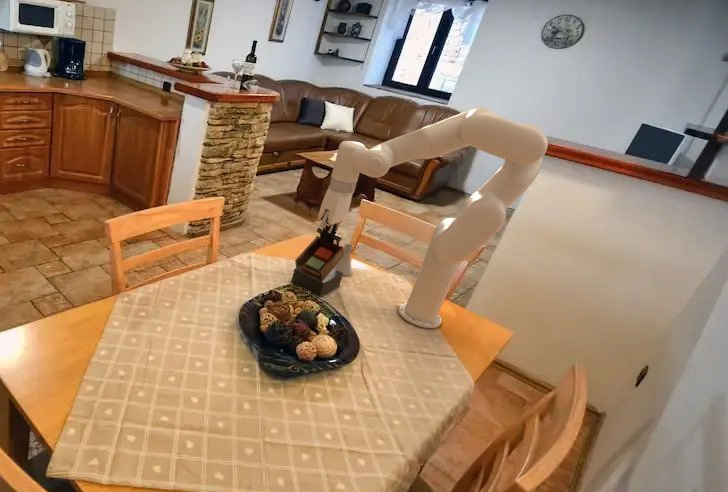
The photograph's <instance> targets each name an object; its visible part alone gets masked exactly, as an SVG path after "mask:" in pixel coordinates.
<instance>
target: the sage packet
mask: <svg viewBox="0 0 728 492" xmlns="http://www.w3.org/2000/svg"><path fill="white" fill-rule="evenodd" d="M324 266H325V262H323V261H321V260H319V259H317V258H314V257H311V258H310V259H309V260H308V261H307V263H306V267H308V268H310V269H312V270H314V271H316V272H318V273H319V272H320V270H321V269H322V268H323V267H324Z"/></svg>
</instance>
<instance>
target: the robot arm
mask: <svg viewBox="0 0 728 492" xmlns="http://www.w3.org/2000/svg"><path fill="white" fill-rule="evenodd" d="M548 146H549V143H548V138H547V135H546V134H545V133H544V131H542V130H541V129H540V128H539V127H538V126H536V125H534V124H532V123H527V122H525V123H524V122H523V123H520V122H516V121H513V120H511V119H508V118H505V117H503V116H501V115H498V114H496V113H494V112H493V111H492V110H491V109H489V108H488V107H484V106H483V107H481V106H480V107H475V108H471V109H469V110H467V111H465V112H464V111H463V112H461V113H459V114H456V115H453V116H451V117H448V118H445V119H443V120H440V121H437V122H435V123H432V124H430V125H427V126H424V127H421V128H418V129H416V130H414V131H411V132H407V133H405V134H402V135H399V136H397V137H394V138H392V139H389V140H386V141H383V142H381V143H379V144H377V145H374V146H372V147H371V148H366V146H365V145H364V144H362V143H361V142H357V141H353V140H343V141H341V142H340V143H339V146H338V149H337V153H336V157H335V160H334V164H333V168H332V172H331V174H330V175H331V176H330V180H329V183H328V188H327V189H326V191H325V194H324V197H323V199H322V201H321V202H322V203H321V204H320V209H319V211H318V215H317V220H318V221H320V224H319V227H320V228H322V234H321V238H320V242H321V243H323V244H325V245H329V244H330V243H331V244H333V243H335V240H334V239H332V238H331V237H332V233H334V234H336V235H337V232H338V230H339V227H340V225H341V223H343V222H345V220H346V219H347V217H348V214H349V211H350V208H351V202H352V198H353V194H354V193H355V191H356V187H357V183H358V180H359V177H360V174H362V175H365V176H367V177H369V178H374V179H376V178H377V179H378V178H381V177H383V176H385V175H386V174H387V173H388V172H389V170H390V168H394V167H395V166H398V165H401V164H404V163H406V162H410V161H415V160H419V159H425V160H431V159H437V158H439V157H441V156H444V155H447V154H450V153H453V152H457V151H458V150H462V149H465V148H467V147H468V148H469V147H472V148H475V149H476V150H479V151H481V152H483V153H486V154H489V155H492V156H494V157H497V158H500V159H502V160H504V161H503V163H502V165H501V166H500V167H499V168H498V169H497V170H496V172H495V173H494V174H493V175H492V176H491V177H490V178H489V179H488V180H486V182H484V183H483V184H482V186H481V187H479V188H478V189H477V190H476V191H475V192H474V193H473V194H471V195H470V196H469V197H468V198H467V199H466V201H465V203H464V204H463V211H462V213H461V214H460V215H458V217H457V218H456V217H449V218H445V219H443V220H441V221H440V222H439V223H437V225H436V226H435V227H434V229H433V231H432V233H431V235H430V240H429V243H428V246H427V249H426V252H425V255H424V257H423V260H422V262H421V265H420V267H419V270H418V273H417V275H416V277H415V281H414V283H413V287H412V289H411V291H410V294H409V295H408V298H407V302H406V303H402V304H400V305H399V308H398V314H399V315H400V316H401V317H402V318H403V319H404V320H405V321H407V322H408V323H410V324H412V325H414V326H418V327H420V328H425V329H436V328H438V327H440V326H441V325H442V321H443V319H442V318H441V316H440V315H439V314H440V312H441V310H442V308H443V306H444V303H445V301H446V298H447V295H448V293H449V291H450V288H451V286H452V284H453V282H454V279H455V277H456V274H457V272H458V269H459V267H460V264H461V263H462V262H463V261H465V260H467V259H468V258H470V257H471V256H472V255H473V254H474V253H475V252H477V251H478V250H479V249H480V248H481V247H482V246H484V245H485V244H486V243H487V242H488V241H489V240H490V239H492V238H493V236H495V235H496V234H497V233H498V232H499V231H500V229H501V228H502V227H503V226H504V224H505V221H506V218H507V209H508V208H509V207H510V206H511V205H512V204H513V203H515V202H516V200H518V199H519V197H521V196H522V195H523V194H524V193H525V192H526V191H527V190H528V189H529V188H530V187H531V185H532V184H533V183H534V181H535V180H536V179H537V177H538V175H539V174H540V171H541V169H542V165H543V159H544V156H545V155H546V152H547V150H548Z"/></svg>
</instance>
